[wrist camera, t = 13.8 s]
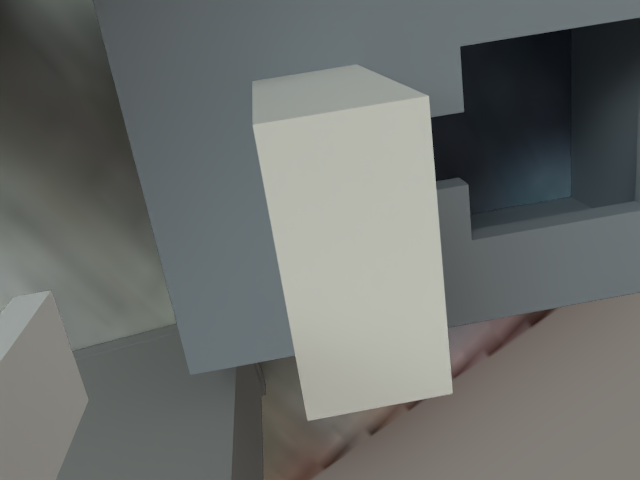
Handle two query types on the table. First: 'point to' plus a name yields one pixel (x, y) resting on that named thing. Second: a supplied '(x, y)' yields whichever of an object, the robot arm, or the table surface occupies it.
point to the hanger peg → (355, 236)
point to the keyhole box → (445, 98)
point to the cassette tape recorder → (164, 415)
